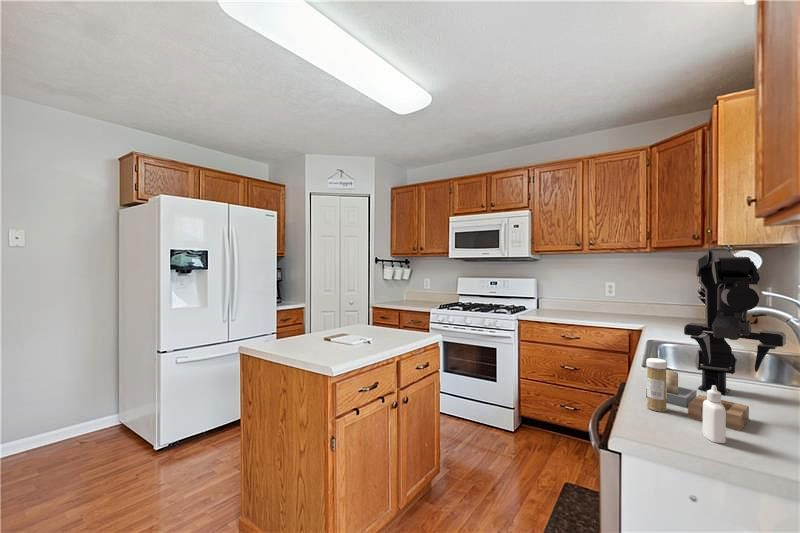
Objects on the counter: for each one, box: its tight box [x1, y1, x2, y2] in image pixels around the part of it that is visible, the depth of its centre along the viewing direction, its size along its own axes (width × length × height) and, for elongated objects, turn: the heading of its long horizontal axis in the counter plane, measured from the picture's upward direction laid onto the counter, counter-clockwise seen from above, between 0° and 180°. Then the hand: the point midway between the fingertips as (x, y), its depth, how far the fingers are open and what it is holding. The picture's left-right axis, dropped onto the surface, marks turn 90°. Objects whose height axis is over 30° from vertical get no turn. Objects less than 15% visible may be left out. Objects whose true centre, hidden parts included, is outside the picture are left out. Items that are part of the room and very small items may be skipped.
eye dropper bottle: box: [702, 385, 727, 444], centre depth 85 cm, size 4×6×12 cm
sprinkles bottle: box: [646, 357, 668, 413], centre depth 101 cm, size 5×5×14 cm
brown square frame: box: [687, 394, 750, 432], centre depth 95 cm, size 10×10×4 cm
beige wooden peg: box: [666, 370, 679, 395], centre depth 109 cm, size 3×3×7 cm
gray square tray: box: [645, 385, 698, 408], centre depth 109 cm, size 10×10×3 cm
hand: (731, 367), depth 95 cm, fingers open, 9 cm apart
